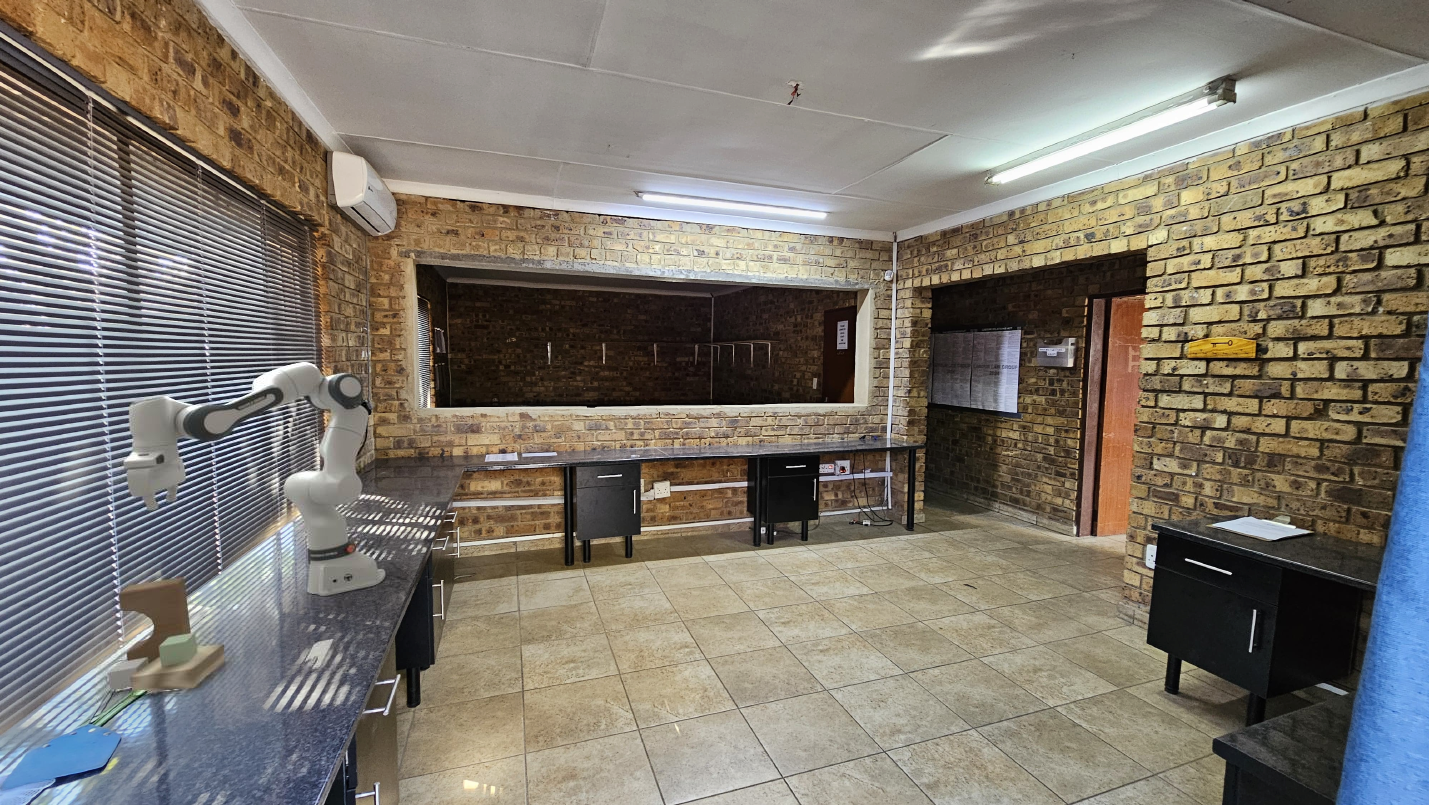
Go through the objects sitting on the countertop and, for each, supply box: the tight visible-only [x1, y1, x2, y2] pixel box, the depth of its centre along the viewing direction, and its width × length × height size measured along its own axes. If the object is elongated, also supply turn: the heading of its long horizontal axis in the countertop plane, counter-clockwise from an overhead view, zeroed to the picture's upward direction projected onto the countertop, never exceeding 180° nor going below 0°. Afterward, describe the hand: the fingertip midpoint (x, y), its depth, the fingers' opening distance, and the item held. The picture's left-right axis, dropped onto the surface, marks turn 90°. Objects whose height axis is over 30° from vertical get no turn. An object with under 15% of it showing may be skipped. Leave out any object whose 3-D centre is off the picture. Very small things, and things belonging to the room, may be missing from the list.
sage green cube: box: [159, 632, 198, 667], centre depth 137 cm, size 5×5×5 cm
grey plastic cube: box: [107, 657, 149, 692], centre depth 135 cm, size 5×5×5 cm
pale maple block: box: [130, 643, 226, 693], centre depth 138 cm, size 12×12×5 cm
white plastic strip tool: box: [304, 638, 334, 671], centre depth 146 cm, size 5×15×1 cm, turn 23°
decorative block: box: [118, 576, 192, 664], centre depth 146 cm, size 11×6×20 cm, turn 115°
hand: (162, 505), depth 157 cm, fingers open, 8 cm apart
